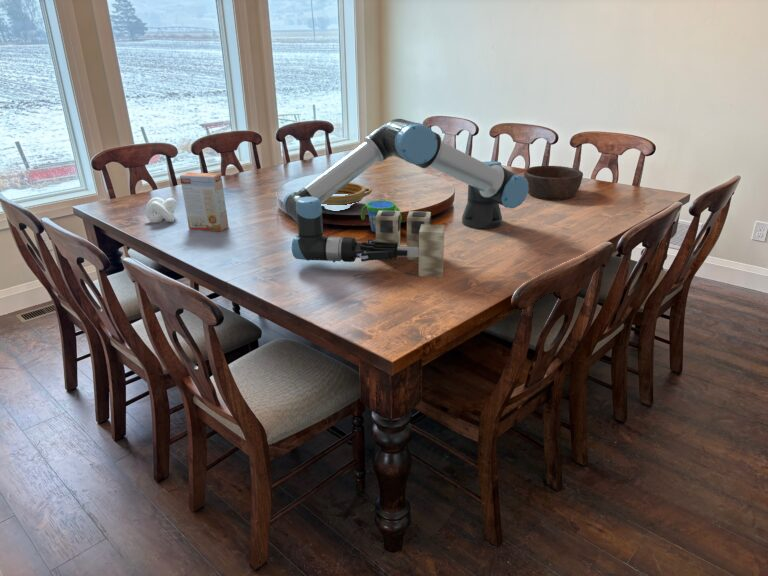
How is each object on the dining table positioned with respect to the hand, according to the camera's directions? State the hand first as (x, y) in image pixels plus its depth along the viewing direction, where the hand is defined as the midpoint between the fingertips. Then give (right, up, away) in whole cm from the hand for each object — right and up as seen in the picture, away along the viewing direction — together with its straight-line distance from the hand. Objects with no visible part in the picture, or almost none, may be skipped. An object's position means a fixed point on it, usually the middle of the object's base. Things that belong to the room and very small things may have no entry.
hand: (418, 252), depth 167 cm
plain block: (+4, -6, +2) cm, 7 cm away
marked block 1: (+1, 0, +14) cm, 14 cm away
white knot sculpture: (-98, +16, +54) cm, 113 cm away
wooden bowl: (+64, +31, +80) cm, 107 cm away
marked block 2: (-9, 0, +16) cm, 18 cm away
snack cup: (-11, +10, +38) cm, 41 cm away
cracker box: (-77, +12, +44) cm, 90 cm away
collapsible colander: (-30, +23, +67) cm, 77 cm away
